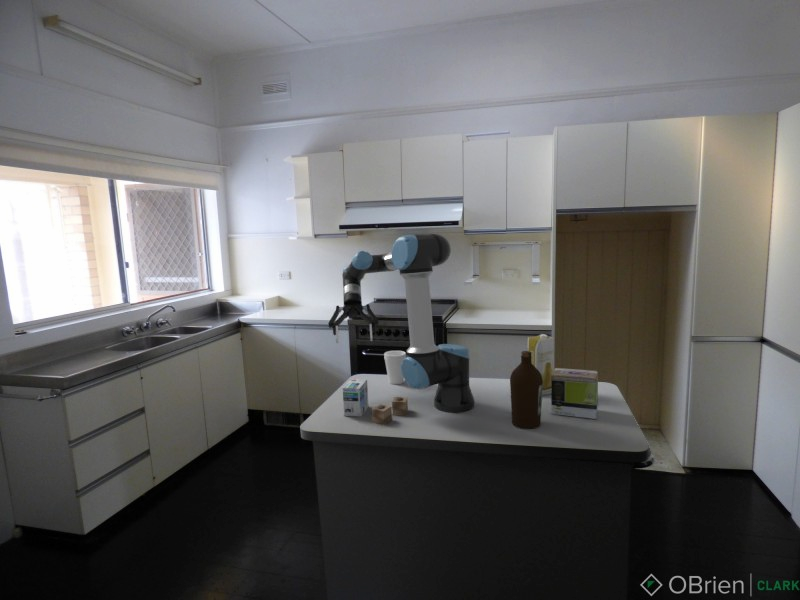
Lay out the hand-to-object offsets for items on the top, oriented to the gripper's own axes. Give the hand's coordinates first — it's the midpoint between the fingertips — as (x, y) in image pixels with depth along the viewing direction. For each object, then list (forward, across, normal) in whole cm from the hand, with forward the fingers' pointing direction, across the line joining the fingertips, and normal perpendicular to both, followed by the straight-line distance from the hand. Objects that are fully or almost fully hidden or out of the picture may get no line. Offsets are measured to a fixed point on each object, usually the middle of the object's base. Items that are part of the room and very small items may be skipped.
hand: (354, 340), depth 190 cm
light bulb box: (+27, 0, -7) cm, 28 cm away
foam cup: (+5, -17, -29) cm, 34 cm away
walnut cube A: (+30, -16, -4) cm, 34 cm away
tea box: (+38, -77, +5) cm, 86 cm away
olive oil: (+43, -57, +10) cm, 72 cm away
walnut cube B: (+34, -8, +1) cm, 36 cm away
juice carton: (+23, -73, -10) cm, 77 cm away
